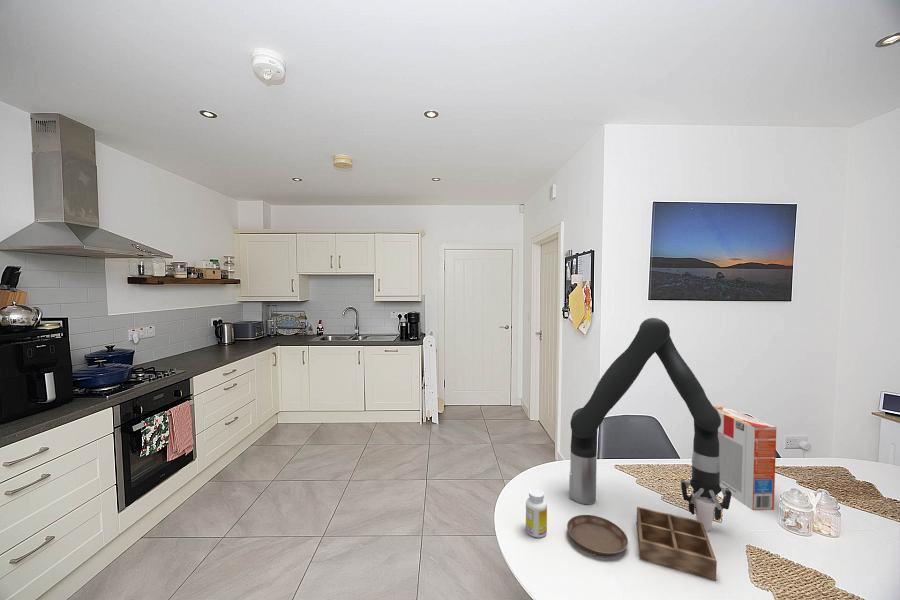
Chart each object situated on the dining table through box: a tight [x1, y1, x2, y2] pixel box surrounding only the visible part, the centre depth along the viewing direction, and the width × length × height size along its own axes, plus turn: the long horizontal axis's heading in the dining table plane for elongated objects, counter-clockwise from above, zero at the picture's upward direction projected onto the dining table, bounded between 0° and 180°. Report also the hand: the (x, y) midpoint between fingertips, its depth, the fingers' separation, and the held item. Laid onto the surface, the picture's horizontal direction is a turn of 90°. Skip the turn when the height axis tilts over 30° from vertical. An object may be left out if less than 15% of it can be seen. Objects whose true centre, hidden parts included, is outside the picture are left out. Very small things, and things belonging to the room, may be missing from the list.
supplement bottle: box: [525, 488, 548, 538], centre depth 117 cm, size 7×7×13 cm
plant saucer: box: [566, 514, 629, 558], centre depth 113 cm, size 18×18×3 cm
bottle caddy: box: [636, 506, 718, 582], centre depth 110 cm, size 18×18×6 cm
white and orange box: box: [714, 405, 777, 511], centre depth 141 cm, size 23×8×30 cm, turn 3°
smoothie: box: [694, 496, 716, 532], centre depth 120 cm, size 6×6×14 cm
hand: (704, 515), depth 120 cm, fingers closed on smoothie, 6 cm apart
